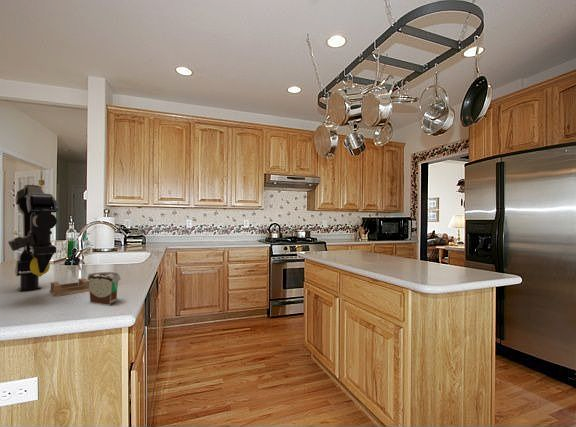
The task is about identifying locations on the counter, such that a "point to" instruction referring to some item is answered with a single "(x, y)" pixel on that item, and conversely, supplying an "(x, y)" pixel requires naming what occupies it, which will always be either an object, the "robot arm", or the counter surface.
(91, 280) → the food container
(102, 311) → the counter surface
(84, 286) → the cradle
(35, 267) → the lemon
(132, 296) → the counter surface
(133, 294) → the counter surface
